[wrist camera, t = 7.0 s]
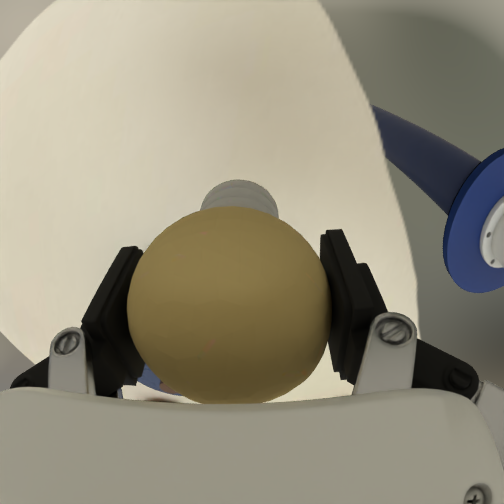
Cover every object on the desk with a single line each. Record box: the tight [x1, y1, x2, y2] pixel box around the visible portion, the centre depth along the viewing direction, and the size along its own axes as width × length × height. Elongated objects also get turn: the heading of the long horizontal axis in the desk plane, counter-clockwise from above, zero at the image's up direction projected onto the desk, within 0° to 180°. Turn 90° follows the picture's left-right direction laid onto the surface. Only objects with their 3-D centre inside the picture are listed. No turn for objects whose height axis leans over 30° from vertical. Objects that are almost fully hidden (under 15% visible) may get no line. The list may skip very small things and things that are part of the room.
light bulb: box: [127, 180, 332, 404], centre depth 11 cm, size 6×6×10 cm
